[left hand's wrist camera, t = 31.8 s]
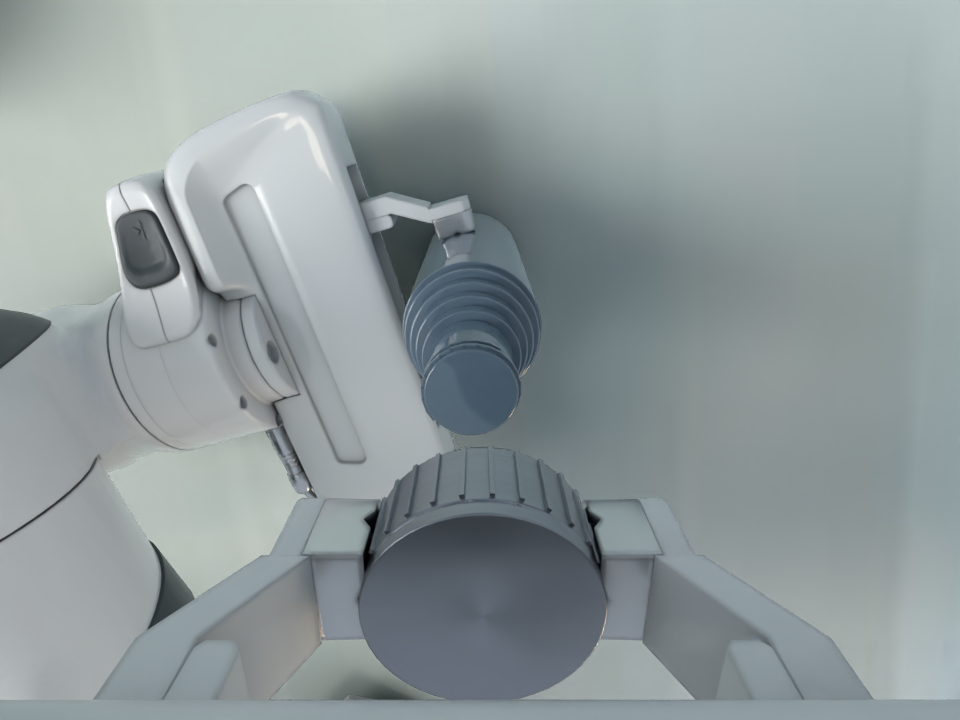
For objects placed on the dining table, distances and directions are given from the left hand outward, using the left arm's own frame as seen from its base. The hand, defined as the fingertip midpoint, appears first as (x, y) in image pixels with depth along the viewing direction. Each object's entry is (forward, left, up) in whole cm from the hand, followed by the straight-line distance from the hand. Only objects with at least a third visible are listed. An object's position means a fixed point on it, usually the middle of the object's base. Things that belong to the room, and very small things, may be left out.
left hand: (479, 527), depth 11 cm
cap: (0, 0, +2) cm, 2 cm away
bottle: (0, 0, -24) cm, 24 cm away
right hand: (-1, -1, -18) cm, 18 cm away
